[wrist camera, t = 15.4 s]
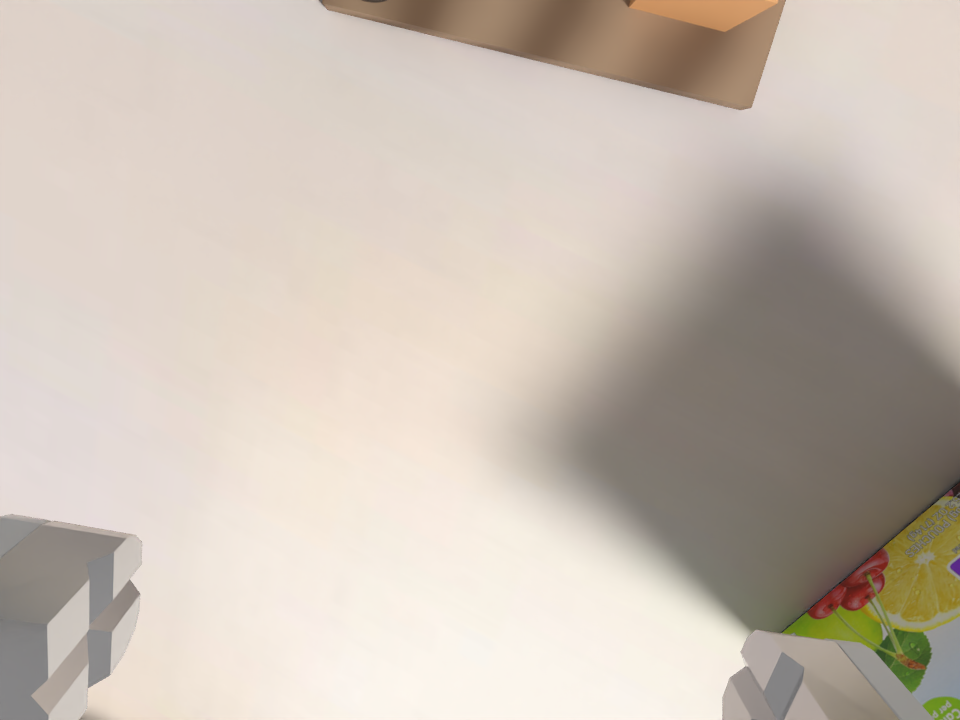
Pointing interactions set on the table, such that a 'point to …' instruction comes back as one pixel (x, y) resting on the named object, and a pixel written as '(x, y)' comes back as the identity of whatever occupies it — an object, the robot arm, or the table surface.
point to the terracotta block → (705, 11)
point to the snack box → (905, 608)
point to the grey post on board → (598, 40)
